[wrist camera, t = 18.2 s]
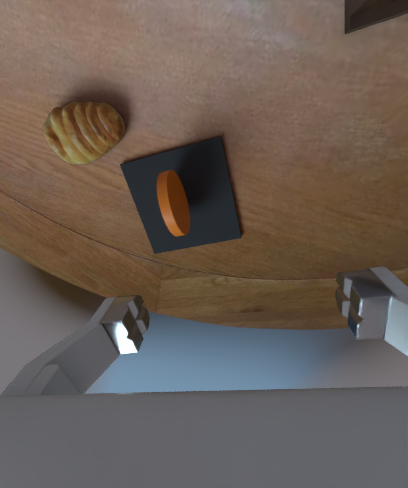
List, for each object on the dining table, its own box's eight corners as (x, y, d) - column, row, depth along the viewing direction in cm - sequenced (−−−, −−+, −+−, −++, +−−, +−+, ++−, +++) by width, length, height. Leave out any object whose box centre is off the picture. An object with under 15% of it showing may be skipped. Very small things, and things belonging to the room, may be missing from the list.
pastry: (112, 88, 27) (96, 82, 24) (136, 146, 30) (124, 148, 27) (51, 115, 29) (27, 114, 26) (78, 167, 32) (60, 172, 29)
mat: (121, 164, 31) (119, 164, 31) (221, 136, 28) (220, 136, 28) (155, 252, 37) (154, 253, 36) (241, 236, 34) (241, 237, 33)
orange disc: (172, 174, 31) (149, 168, 24) (180, 172, 31) (160, 166, 23) (186, 230, 33) (168, 242, 25) (193, 229, 32) (178, 240, 25)
